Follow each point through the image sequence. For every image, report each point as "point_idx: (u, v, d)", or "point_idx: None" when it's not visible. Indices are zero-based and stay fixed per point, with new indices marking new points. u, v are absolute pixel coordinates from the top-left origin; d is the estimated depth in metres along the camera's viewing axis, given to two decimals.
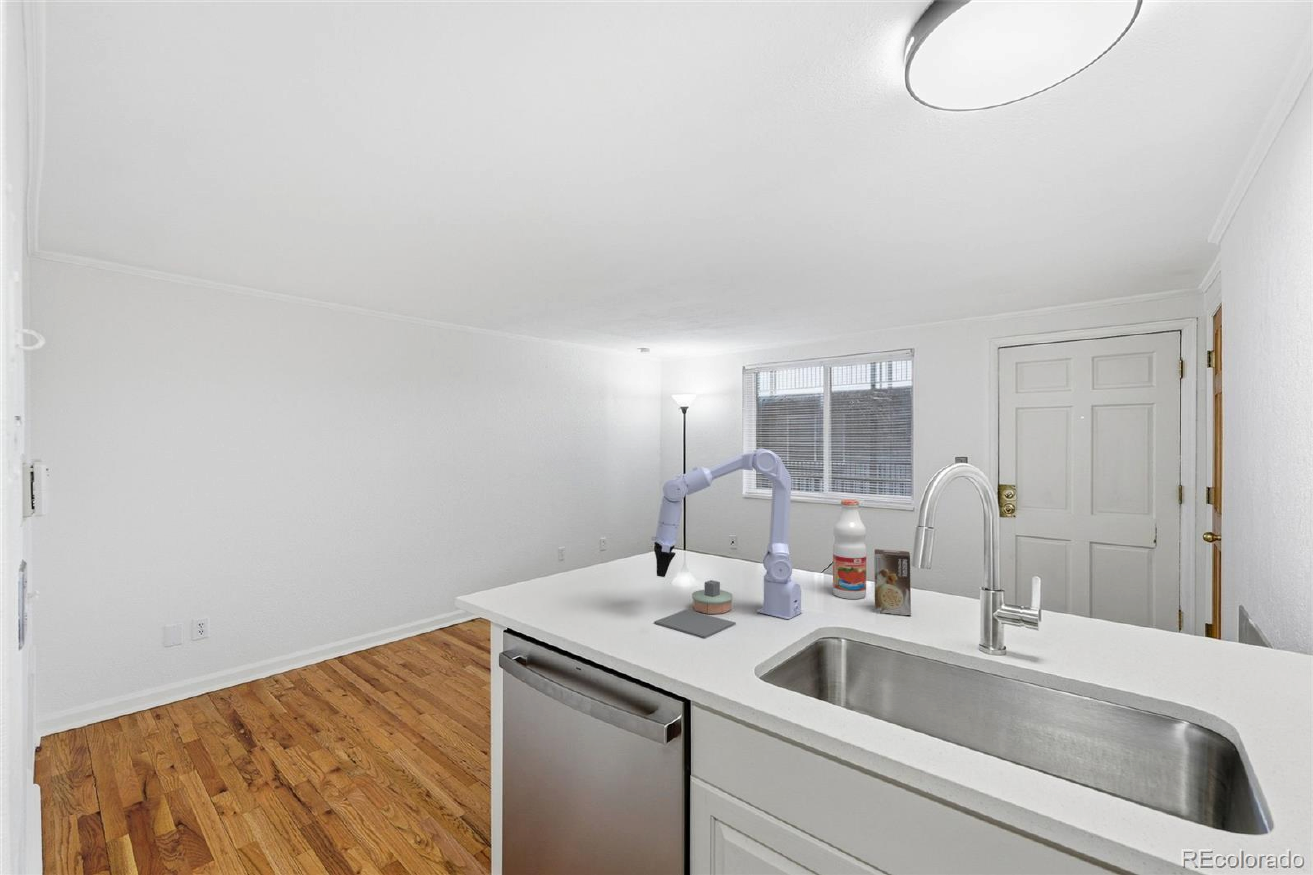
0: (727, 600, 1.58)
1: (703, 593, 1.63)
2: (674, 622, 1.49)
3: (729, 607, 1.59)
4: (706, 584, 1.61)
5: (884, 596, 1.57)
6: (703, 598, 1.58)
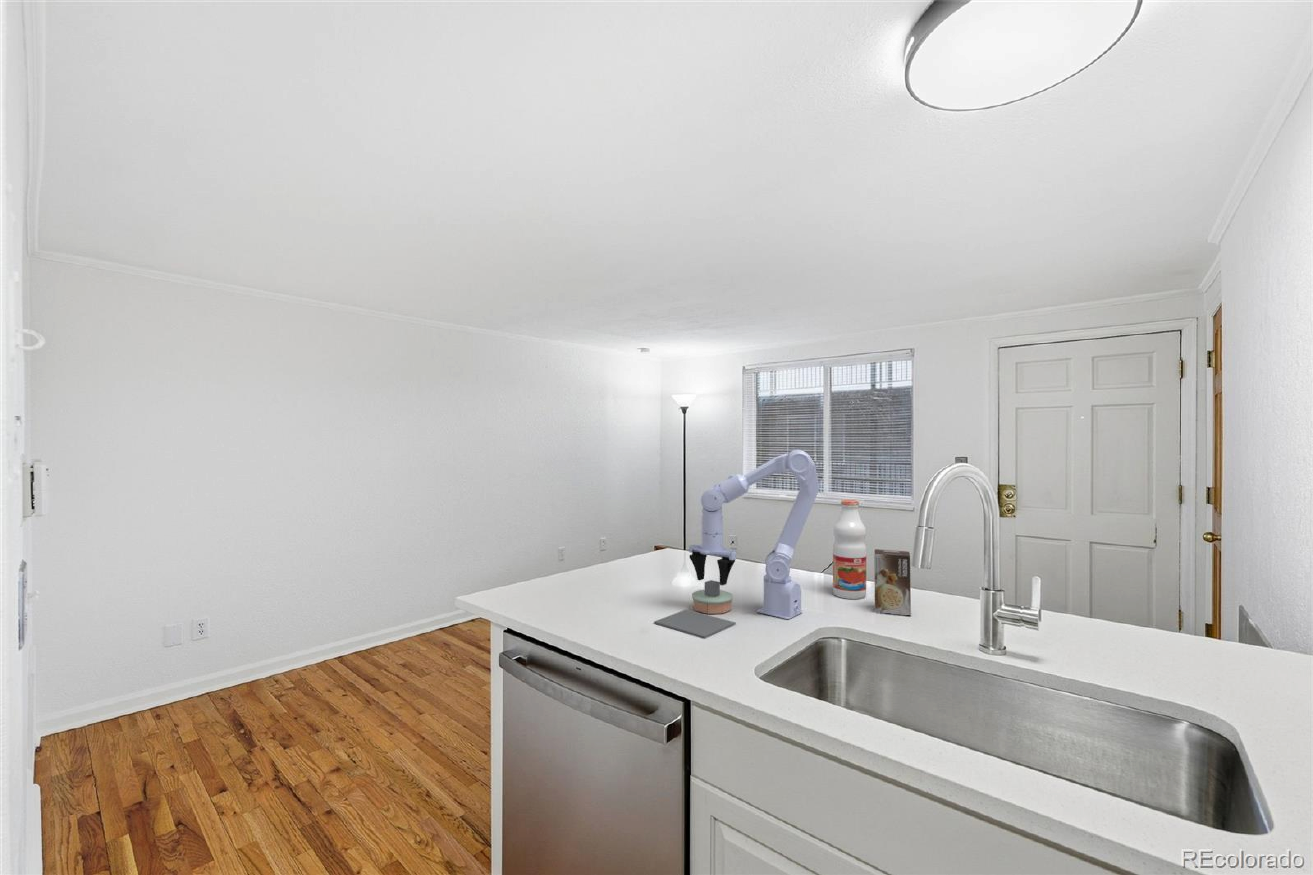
0: (727, 600, 1.58)
1: (703, 593, 1.63)
2: (674, 622, 1.49)
3: (729, 607, 1.59)
4: (706, 584, 1.61)
5: (884, 596, 1.57)
6: (703, 598, 1.58)
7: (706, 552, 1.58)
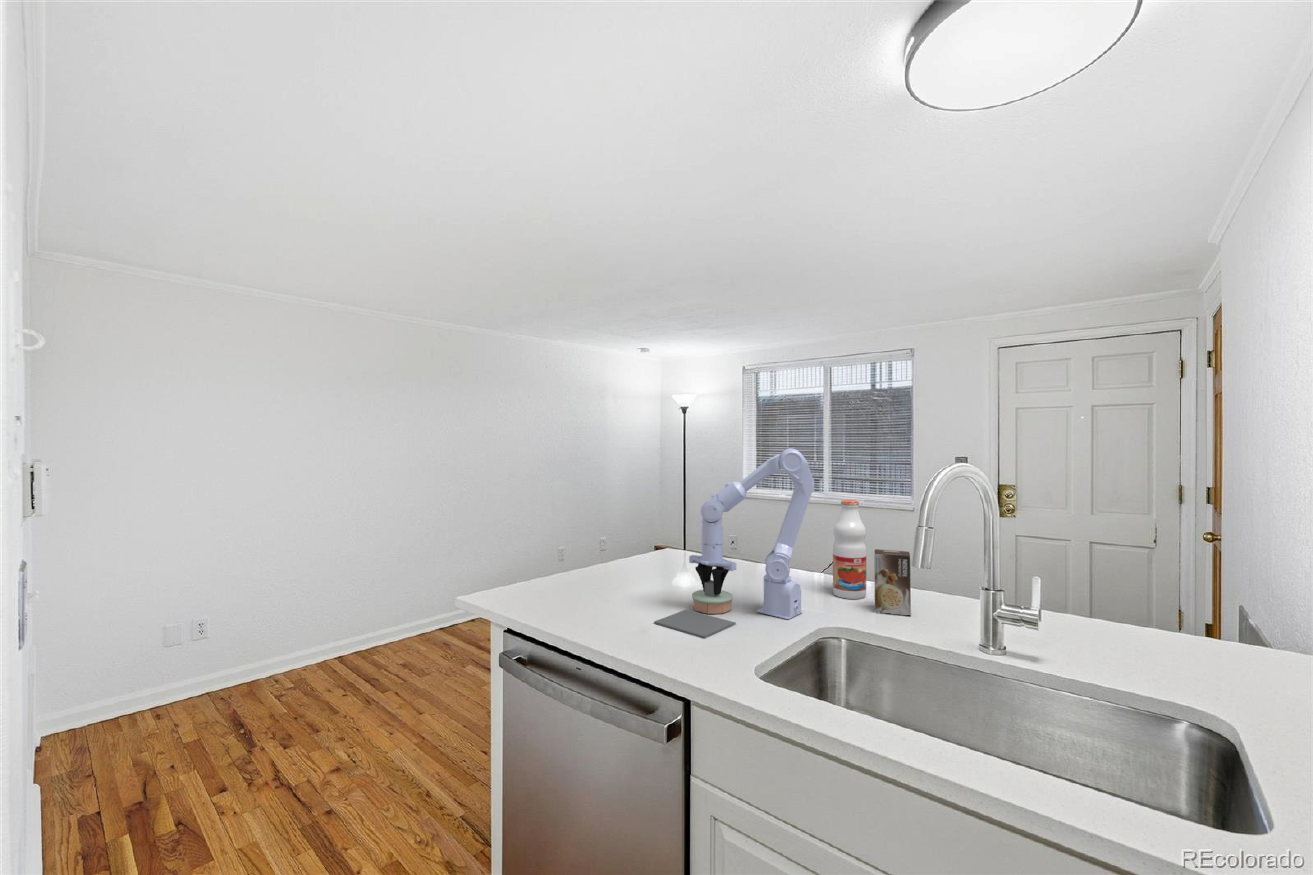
0: (727, 600, 1.58)
1: (703, 593, 1.63)
2: (674, 622, 1.49)
3: (729, 607, 1.59)
4: (706, 584, 1.61)
5: (884, 596, 1.57)
6: (703, 598, 1.58)
7: (706, 563, 1.58)
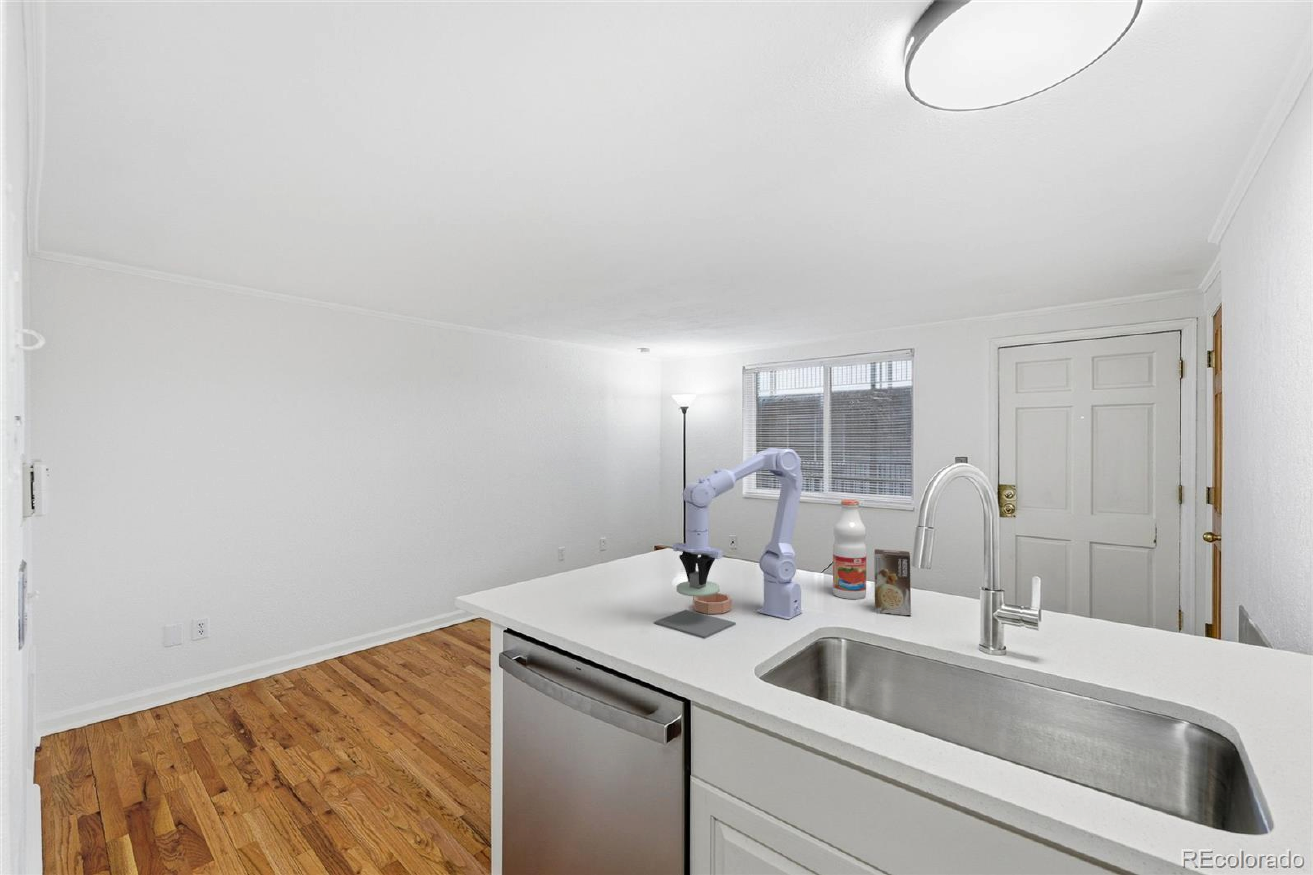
0: (713, 592, 1.47)
1: (688, 585, 1.53)
2: (674, 622, 1.49)
3: (729, 607, 1.59)
4: (691, 575, 1.50)
5: (884, 596, 1.57)
6: (688, 590, 1.48)
7: (690, 550, 1.47)
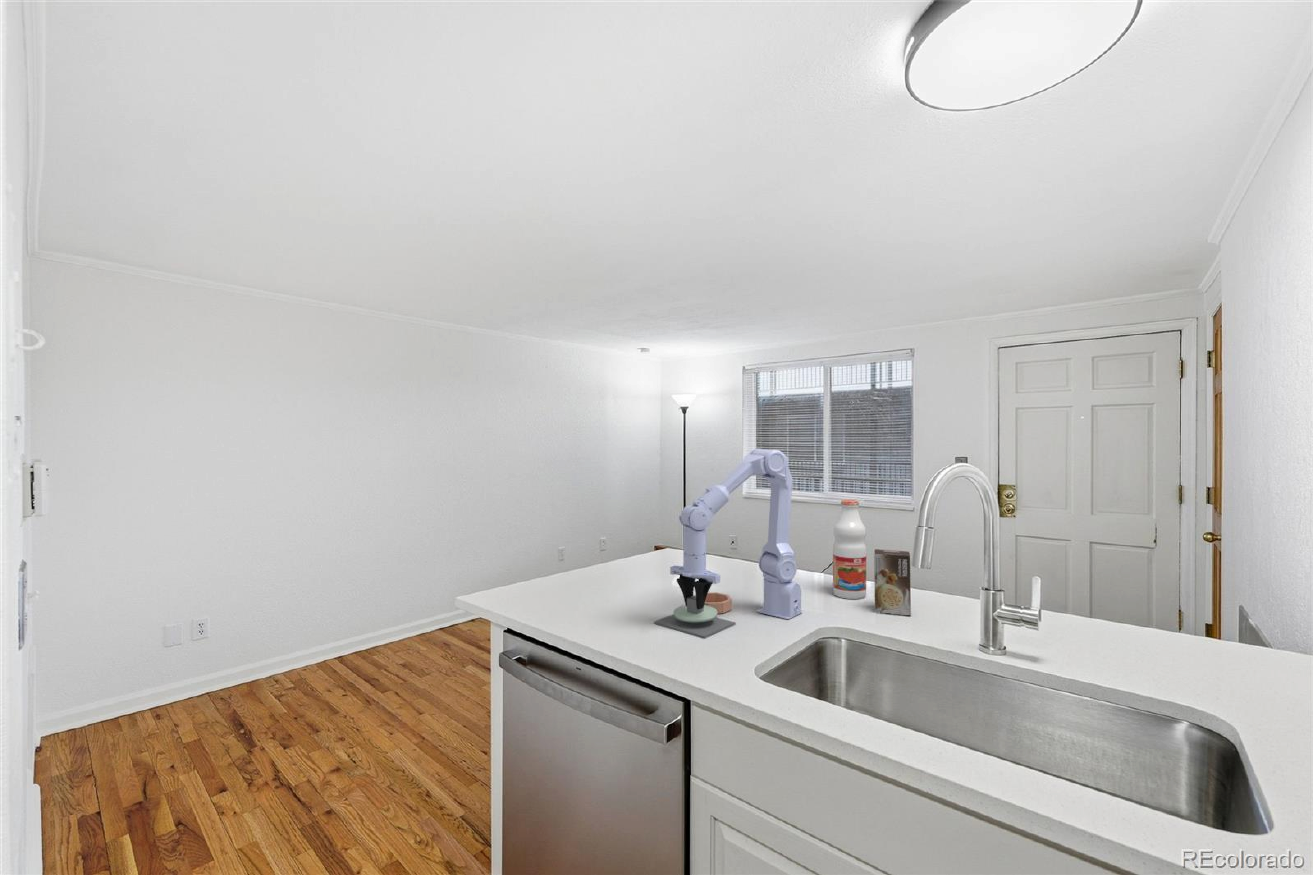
0: (711, 618, 1.45)
1: (686, 609, 1.51)
2: (674, 622, 1.49)
3: (729, 607, 1.59)
4: (688, 600, 1.49)
5: (884, 596, 1.57)
6: (685, 616, 1.46)
7: (688, 575, 1.46)
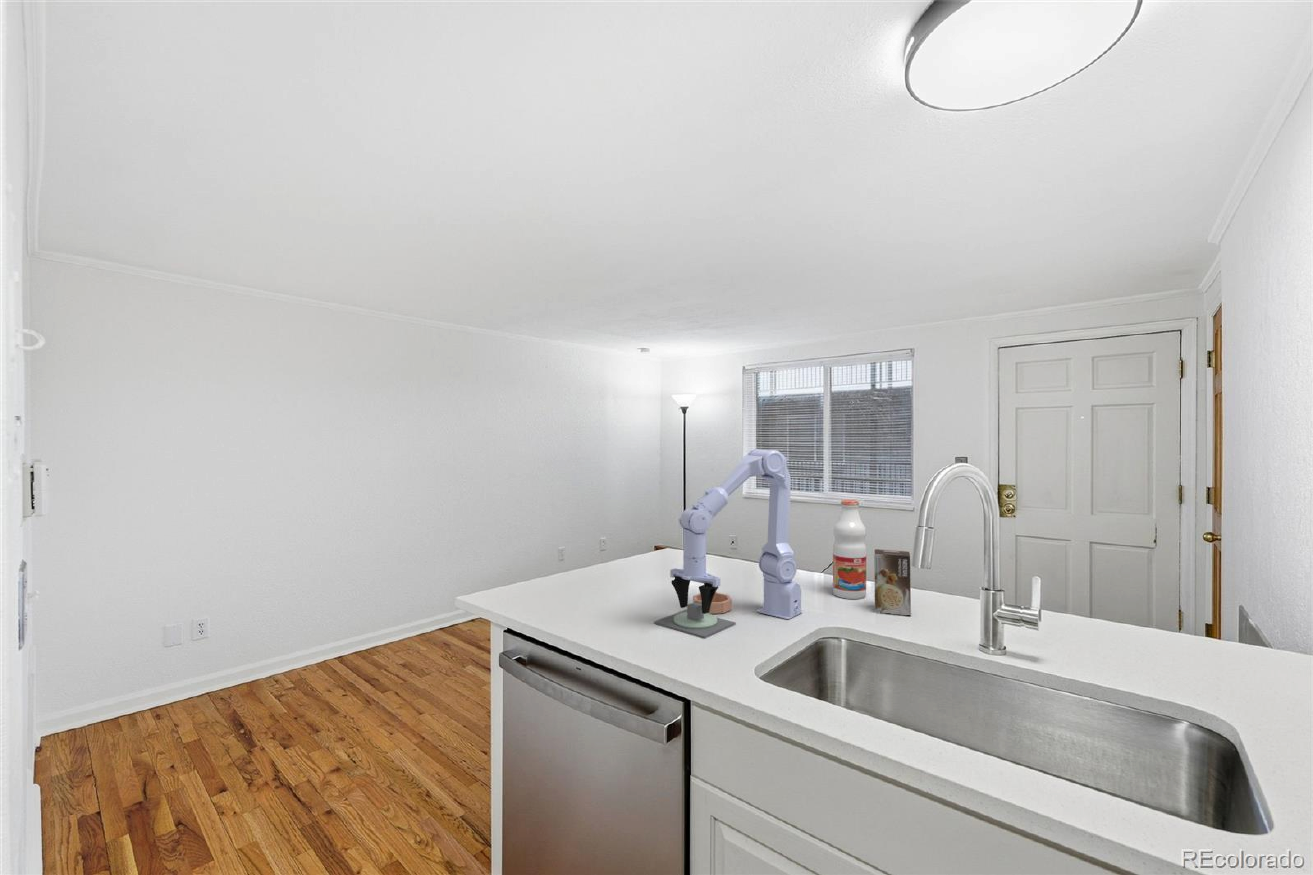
0: (711, 625, 1.46)
1: (686, 616, 1.51)
2: None
3: (729, 607, 1.59)
4: (689, 607, 1.49)
5: (884, 596, 1.57)
6: (685, 622, 1.46)
7: (688, 578, 1.46)
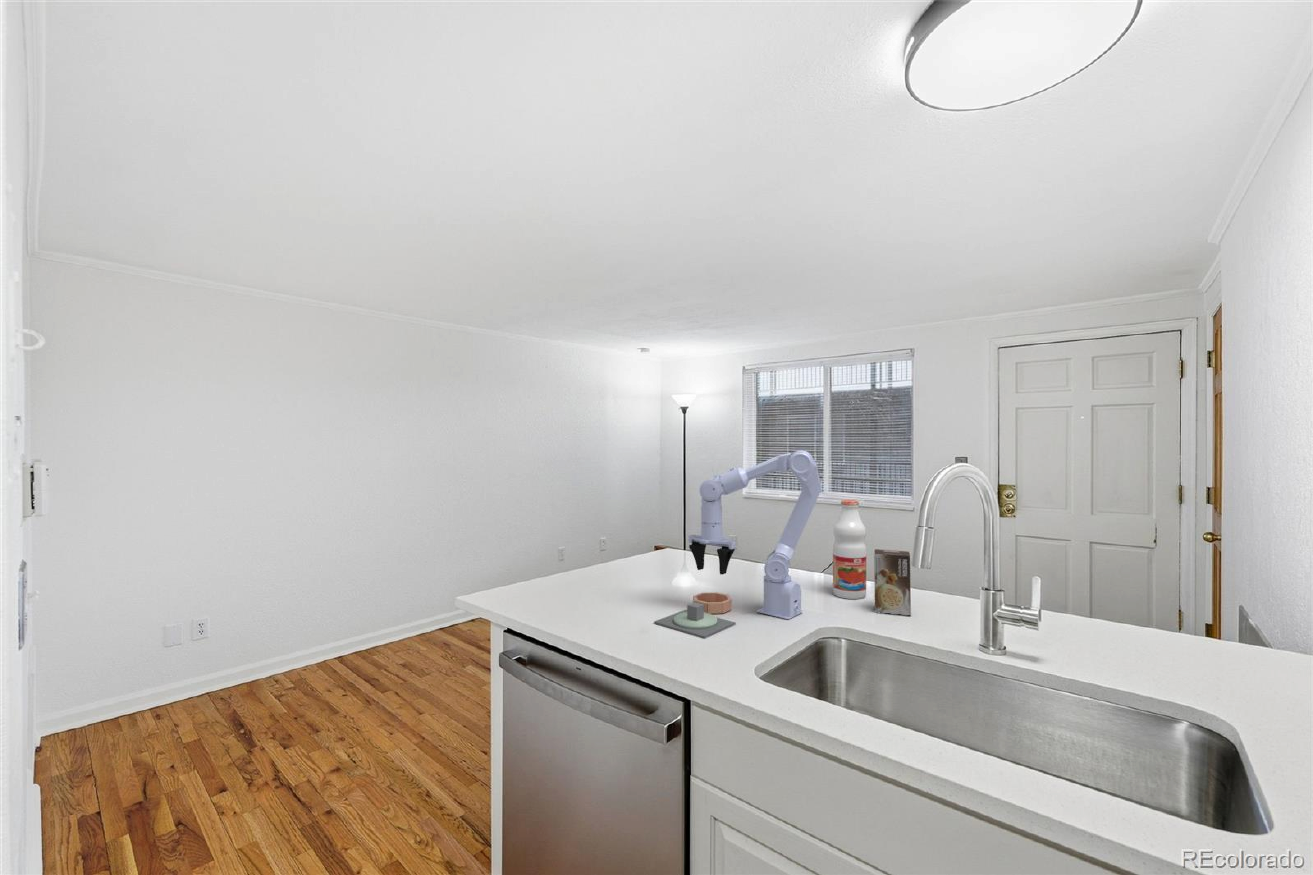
0: (711, 625, 1.46)
1: (686, 616, 1.51)
2: None
3: (729, 607, 1.59)
4: (689, 607, 1.49)
5: (884, 596, 1.57)
6: (685, 623, 1.46)
7: (706, 541, 1.59)
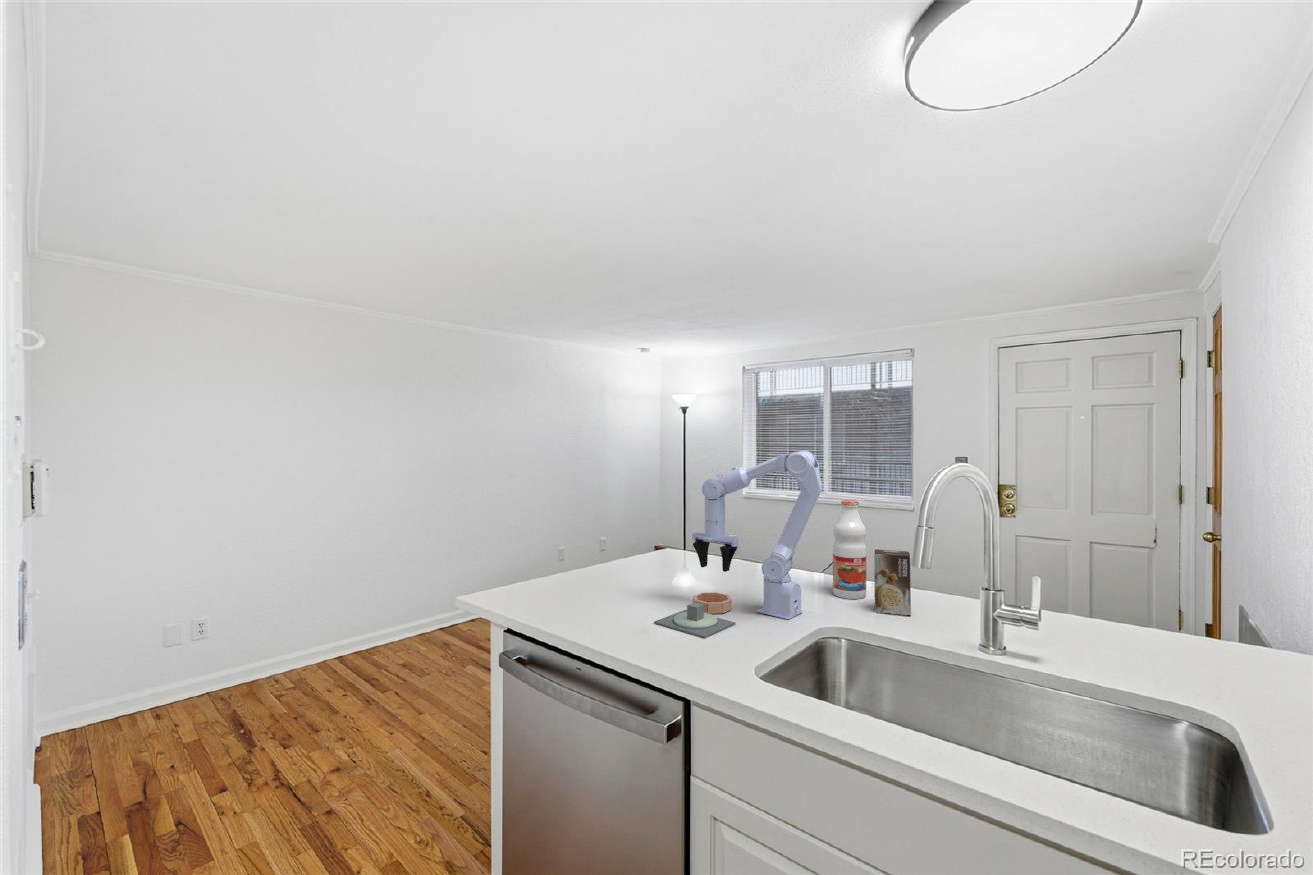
0: (711, 625, 1.46)
1: (686, 616, 1.51)
2: None
3: (729, 607, 1.59)
4: (689, 607, 1.49)
5: (884, 596, 1.57)
6: (685, 623, 1.46)
7: (709, 539, 1.62)
